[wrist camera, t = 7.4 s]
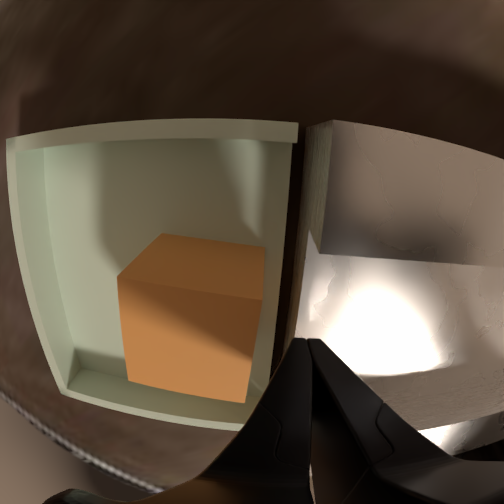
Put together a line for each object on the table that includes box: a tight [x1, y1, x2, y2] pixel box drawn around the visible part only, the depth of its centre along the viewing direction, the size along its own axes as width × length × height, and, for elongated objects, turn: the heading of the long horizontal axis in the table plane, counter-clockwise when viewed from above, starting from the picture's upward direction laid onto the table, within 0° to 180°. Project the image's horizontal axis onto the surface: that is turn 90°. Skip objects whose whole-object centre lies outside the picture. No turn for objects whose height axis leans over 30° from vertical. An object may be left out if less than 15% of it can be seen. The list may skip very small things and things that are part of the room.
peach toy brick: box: [117, 233, 265, 403], centre depth 11 cm, size 4×4×4 cm
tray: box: [6, 118, 298, 431], centre depth 12 cm, size 13×11×2 cm
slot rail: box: [282, 120, 504, 476], centre depth 10 cm, size 13×18×5 cm
